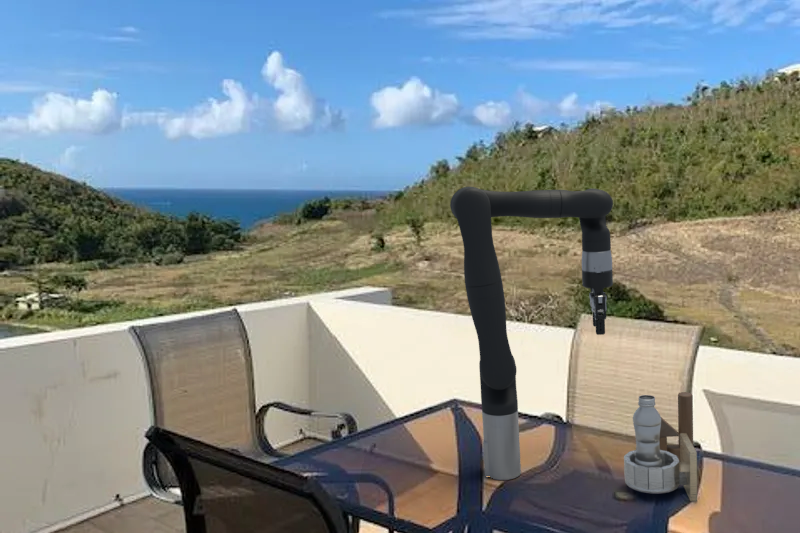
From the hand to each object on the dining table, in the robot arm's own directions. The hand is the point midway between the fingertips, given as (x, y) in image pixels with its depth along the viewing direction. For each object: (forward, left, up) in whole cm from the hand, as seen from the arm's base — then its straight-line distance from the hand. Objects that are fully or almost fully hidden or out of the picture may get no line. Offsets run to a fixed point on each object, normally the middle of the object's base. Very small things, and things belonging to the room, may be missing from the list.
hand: (598, 330), depth 204 cm
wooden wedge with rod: (+18, +2, -36) cm, 41 cm away
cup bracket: (+12, -16, -36) cm, 41 cm away
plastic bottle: (+9, -15, -33) cm, 38 cm away
